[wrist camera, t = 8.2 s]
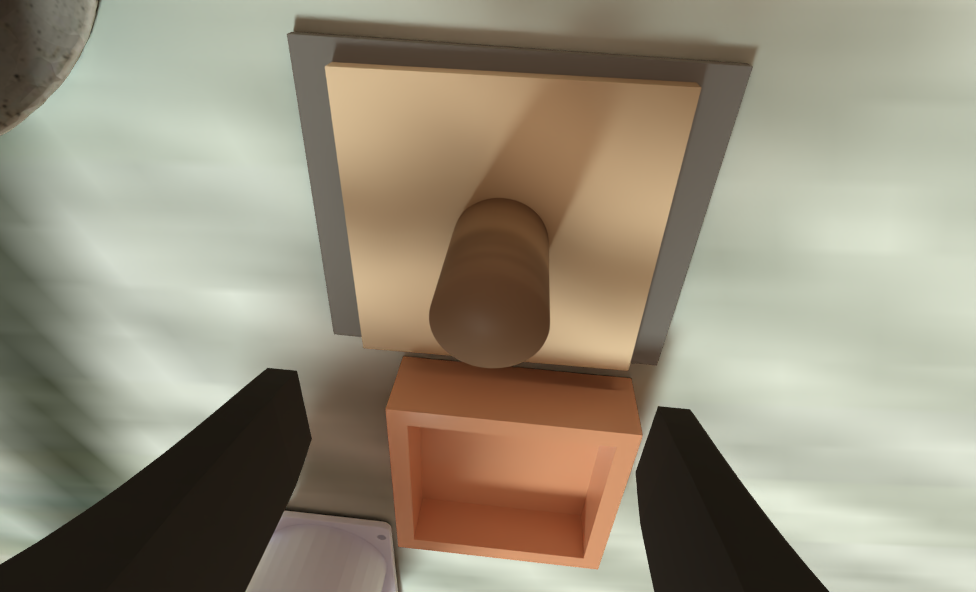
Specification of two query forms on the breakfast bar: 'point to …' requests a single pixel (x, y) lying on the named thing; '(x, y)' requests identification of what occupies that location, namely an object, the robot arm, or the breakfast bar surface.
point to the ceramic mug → (38, 51)
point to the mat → (709, 122)
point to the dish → (509, 460)
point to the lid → (505, 208)
